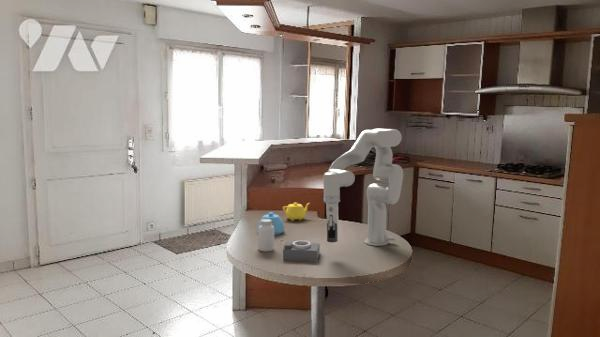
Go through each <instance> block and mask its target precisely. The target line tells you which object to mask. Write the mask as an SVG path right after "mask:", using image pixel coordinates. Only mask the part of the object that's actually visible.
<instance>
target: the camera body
mask: <svg viewBox="0 0 600 337" xmlns="http://www.w3.org/2000/svg"><path fill="white" fill-rule="evenodd" d="M320 245H321V244H320V243H319V242H310V241H309V240H295V241H287V242H285V243H284V246H283V249H282V260H285V261H286V260H287V261H306V262H318V259H319V256H320V250H321V249H320V248H321V247H320Z"/></svg>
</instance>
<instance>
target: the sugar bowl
mask: <svg viewBox="0 0 600 337" xmlns="http://www.w3.org/2000/svg"><path fill="white" fill-rule="evenodd" d="M263 219H270V220H272V224H271V225H273V226H274V236H278V235H280V234H282V233H283V232H284V231H285V225H284V222H283V219H282V218H281V216H279V215H278V214H276V213H274V212H273V211H270V212H268V214H264V215H262V216H261V219H260V220H259V222H258V226H257V229H258V228H259V226H260V225H261V220H263Z"/></svg>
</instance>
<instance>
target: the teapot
mask: <svg viewBox="0 0 600 337" xmlns="http://www.w3.org/2000/svg"><path fill="white" fill-rule="evenodd" d="M310 204H311V202H308V203H306V204H305V207H304V206H303V205H302V204H301V203H298V202H293V203H290V204H288V205H284V206H282V210H283V212H284V213H285V216H286V218H287V219H288V220H290V221H291V222H294V221H295V220H298V221H303V219H305V218H306V214H307V212H308V207H309V205H310Z"/></svg>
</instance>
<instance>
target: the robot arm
mask: <svg viewBox="0 0 600 337" xmlns="http://www.w3.org/2000/svg"><path fill="white" fill-rule="evenodd" d="M401 142H402V133H401V132H400V131H399V130H398V129H396V128H395V129H394V128H380V127H379V128H373V129H365V130H363V131H361V133H360V134H359V136H358V137H357V138H356V140H355V141H354V143H353V144H352V146H351V148H350V149H349V150H348V151H346V152H344V153H343V154H342V155H340V156H338V157H337V158H336V159H335V160H334V161H333V162H332V163H331V165H330V166H329V168H328V170H327V172H324V173H323V178H322V179H323V182H322V183H323V202H324V203H325V205H326V207H325V209H326V210H325V211H326V212H325V213H326V224H327V223H329V229H328V238H335V223H336V224H337V225H338V223H339V203H340V202H341V194H340V193H341V191H340V188H342V187H350V186H352V185H353V184H354V183H355V179H356V176H355V174H354V172H352V171H351V170H346V168H348V167H351V166H353V165H357V164H359V163H362V162H364V161H365V160H366V158H367V156H368V155H369V153H370V151H371V150H372V148H375V160H374V165H373V170H372V176H373V179H374V180H376V181H380V182H386V183H388V184H384V183H379V182H375V183H371V184H369V185H368V187H367V188H366V199H367V206H368V207H367V210H368V211H367V237H366V238H365V239H364V244H366V245H369V246H374V247H375V246H376V247H377V246H378V247H382V246H387V245H389V243H390V242H389V241H393V242H394V241H395V240H396V238H395V236H392V235H387V207H386V204H388V205H396V204H397V203H398V202H399V199H400V197H401V192H402V187H403V180H404V170H403V168H402V166H401V165H399V164H394V163H393V156H394V155H393V150H392V147H398V146H399V144H400V143H401ZM332 222H334V223H332Z"/></svg>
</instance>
